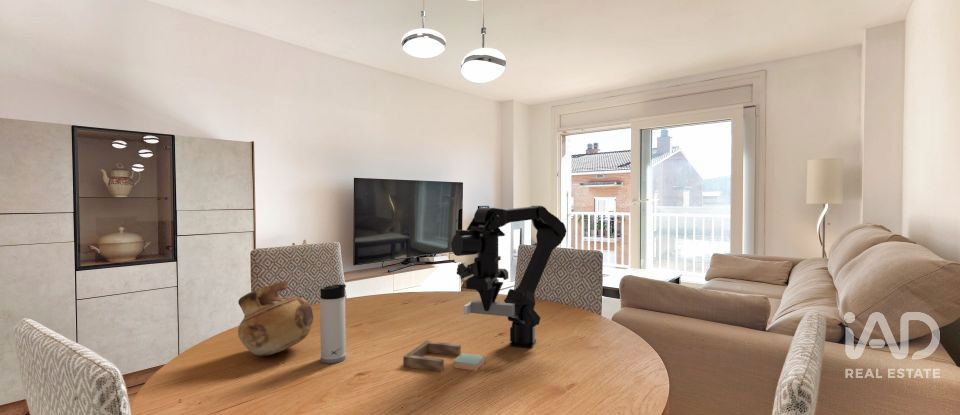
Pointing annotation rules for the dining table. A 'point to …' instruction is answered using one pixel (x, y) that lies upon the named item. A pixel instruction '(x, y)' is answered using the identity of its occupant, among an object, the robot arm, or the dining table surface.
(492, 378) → the dining table surface
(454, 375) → the dining table surface
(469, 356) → the tile
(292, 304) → the clay pot
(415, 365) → the bay
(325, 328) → the travel mug
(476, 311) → the pusher tool
